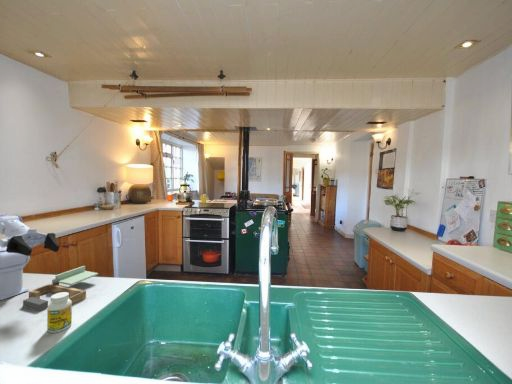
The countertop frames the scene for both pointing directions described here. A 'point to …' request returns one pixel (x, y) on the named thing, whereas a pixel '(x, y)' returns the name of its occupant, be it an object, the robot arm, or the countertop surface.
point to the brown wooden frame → (55, 287)
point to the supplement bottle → (59, 312)
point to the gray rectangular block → (35, 303)
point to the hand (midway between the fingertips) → (44, 250)
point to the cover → (73, 276)
